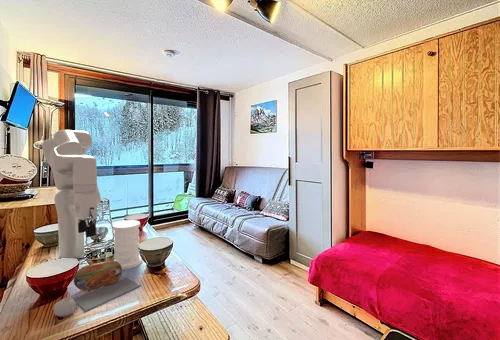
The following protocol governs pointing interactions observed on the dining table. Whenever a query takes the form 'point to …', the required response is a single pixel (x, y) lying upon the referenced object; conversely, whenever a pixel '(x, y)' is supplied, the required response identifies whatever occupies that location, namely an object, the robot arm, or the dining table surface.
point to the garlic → (64, 307)
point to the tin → (98, 275)
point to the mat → (105, 293)
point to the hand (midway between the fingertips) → (87, 233)
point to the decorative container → (127, 243)
